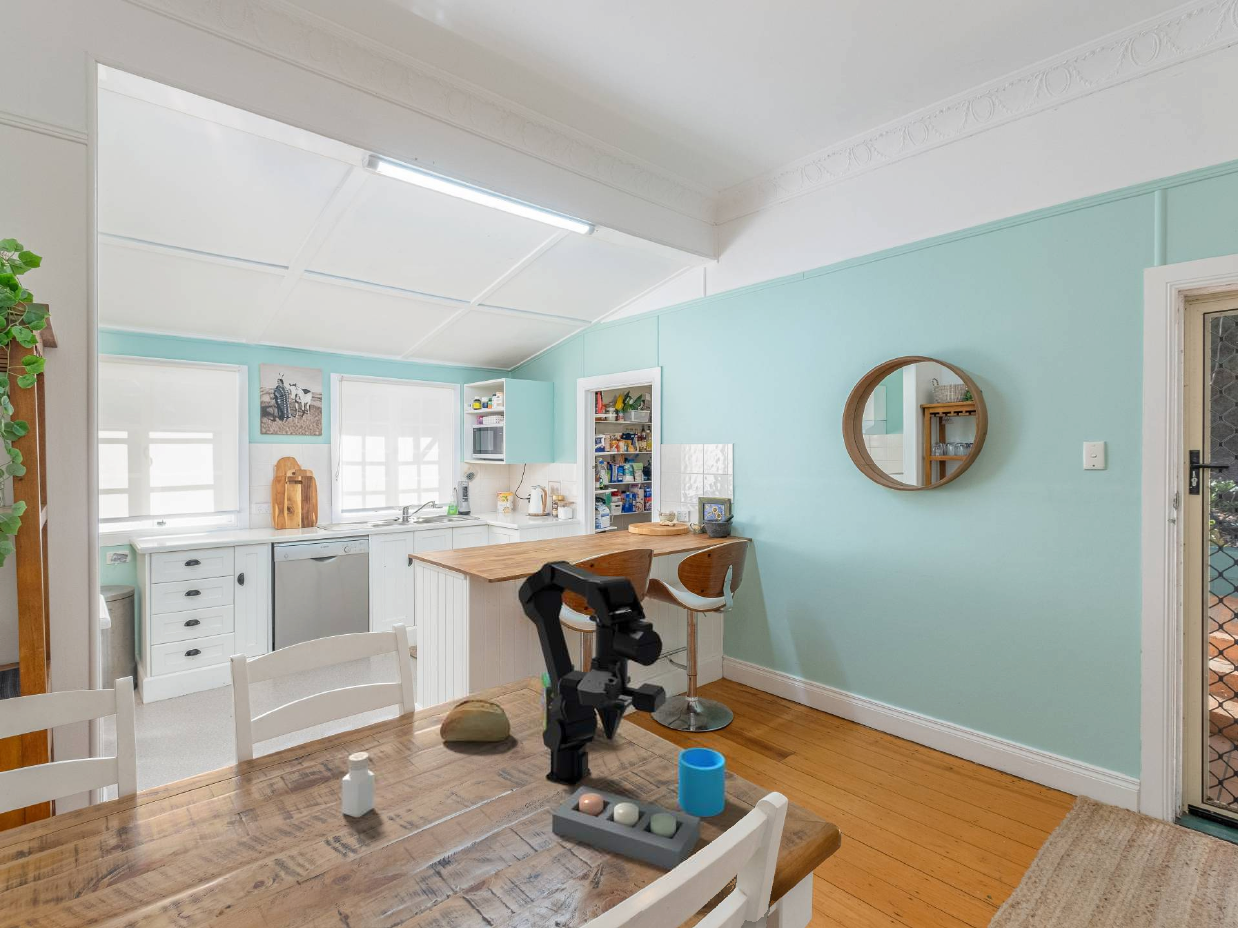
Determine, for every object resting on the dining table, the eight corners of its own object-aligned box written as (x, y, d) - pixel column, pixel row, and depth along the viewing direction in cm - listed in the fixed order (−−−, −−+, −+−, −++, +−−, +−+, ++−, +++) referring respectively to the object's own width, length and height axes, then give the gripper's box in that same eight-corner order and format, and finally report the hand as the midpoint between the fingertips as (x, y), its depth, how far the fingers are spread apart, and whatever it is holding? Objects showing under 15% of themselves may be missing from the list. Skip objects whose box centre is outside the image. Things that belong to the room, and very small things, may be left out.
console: (552, 832, 103) (552, 813, 103) (582, 802, 112) (582, 785, 112) (678, 872, 93) (678, 852, 93) (700, 836, 102) (700, 818, 102)
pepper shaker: (375, 808, 109) (376, 753, 109) (357, 819, 105) (357, 763, 105) (358, 802, 111) (359, 748, 111) (340, 814, 107) (340, 758, 107)
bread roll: (442, 731, 140) (442, 695, 140) (510, 727, 143) (510, 692, 142) (437, 751, 131) (437, 713, 131) (510, 746, 133) (510, 709, 133)
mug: (730, 815, 108) (731, 768, 108) (684, 818, 107) (684, 770, 107) (711, 780, 120) (712, 737, 120) (669, 782, 119) (670, 739, 119)
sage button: (646, 838, 98) (646, 823, 98) (656, 825, 102) (656, 810, 102) (670, 845, 97) (670, 829, 97) (679, 831, 100) (679, 816, 100)
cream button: (609, 827, 101) (609, 812, 101) (620, 814, 105) (620, 800, 105) (632, 833, 100) (632, 818, 100) (642, 821, 103) (642, 806, 103)
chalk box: (579, 718, 148) (580, 655, 148) (586, 734, 139) (587, 668, 139) (540, 721, 146) (541, 658, 146) (545, 738, 137) (545, 671, 137)
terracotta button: (574, 816, 104) (574, 802, 104) (586, 804, 108) (586, 791, 108) (596, 823, 102) (596, 808, 102) (607, 810, 106) (607, 796, 106)
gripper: (541, 655, 107) (540, 746, 107) (641, 672, 99) (640, 771, 99) (574, 638, 117) (573, 722, 117) (667, 653, 109) (666, 743, 109)
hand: (610, 738), depth 110 cm, fingers closed
